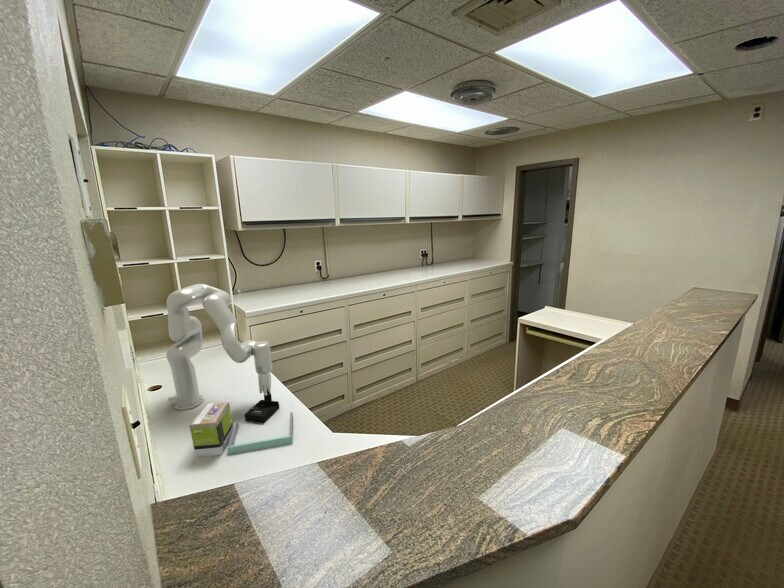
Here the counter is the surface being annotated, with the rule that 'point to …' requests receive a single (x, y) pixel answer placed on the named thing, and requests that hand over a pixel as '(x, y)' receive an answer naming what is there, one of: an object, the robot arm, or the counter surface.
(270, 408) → the battery charger
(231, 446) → the dock
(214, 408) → the tea box
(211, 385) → the counter surface
